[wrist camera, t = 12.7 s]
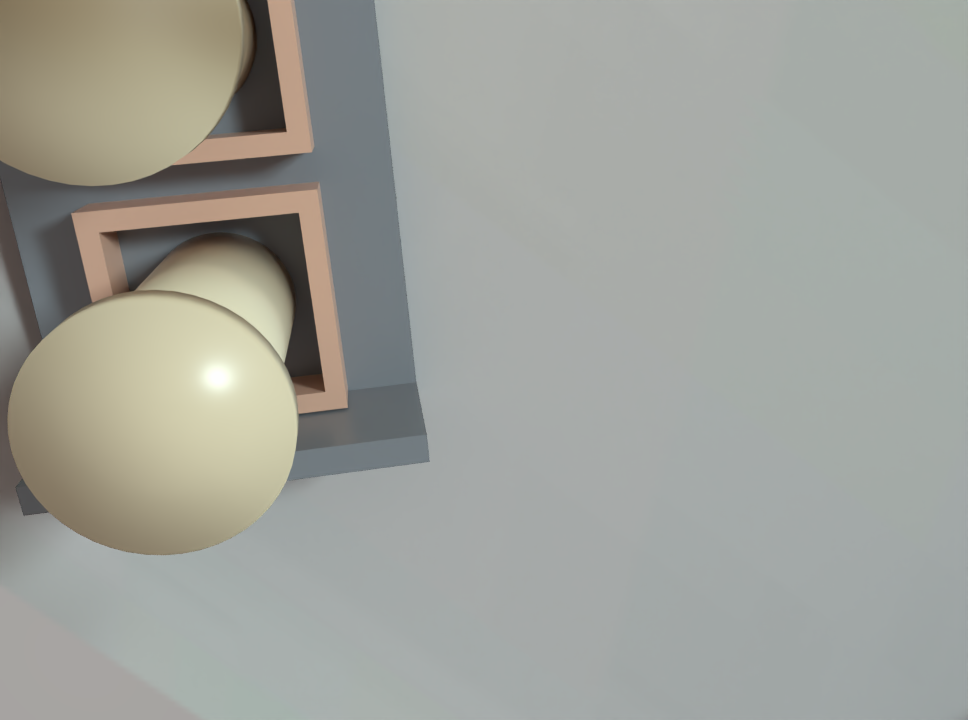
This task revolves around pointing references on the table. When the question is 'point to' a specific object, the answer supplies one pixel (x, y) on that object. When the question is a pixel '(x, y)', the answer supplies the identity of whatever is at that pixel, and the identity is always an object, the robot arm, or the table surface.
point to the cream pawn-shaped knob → (116, 83)
